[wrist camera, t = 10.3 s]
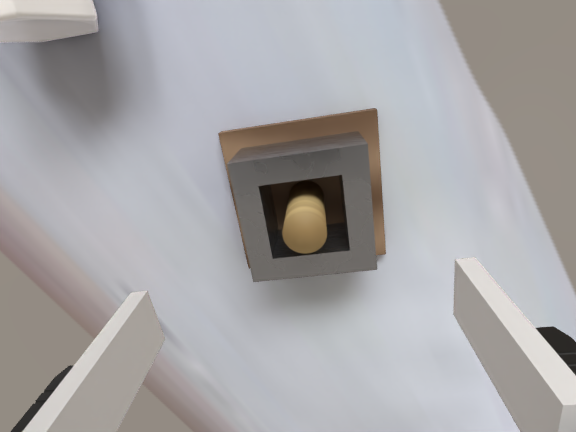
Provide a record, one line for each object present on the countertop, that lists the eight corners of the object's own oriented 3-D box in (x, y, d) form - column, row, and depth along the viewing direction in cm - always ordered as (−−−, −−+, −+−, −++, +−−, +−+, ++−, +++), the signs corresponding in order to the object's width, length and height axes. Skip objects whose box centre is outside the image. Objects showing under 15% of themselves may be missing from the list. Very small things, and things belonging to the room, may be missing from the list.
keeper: (221, 131, 28) (188, 153, 21) (374, 108, 27) (398, 122, 19) (250, 262, 33) (232, 319, 25) (383, 248, 31) (405, 304, 24)
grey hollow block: (241, 148, 28) (227, 163, 23) (358, 131, 26) (367, 143, 22) (262, 250, 31) (253, 281, 26) (367, 238, 30) (377, 269, 25)
